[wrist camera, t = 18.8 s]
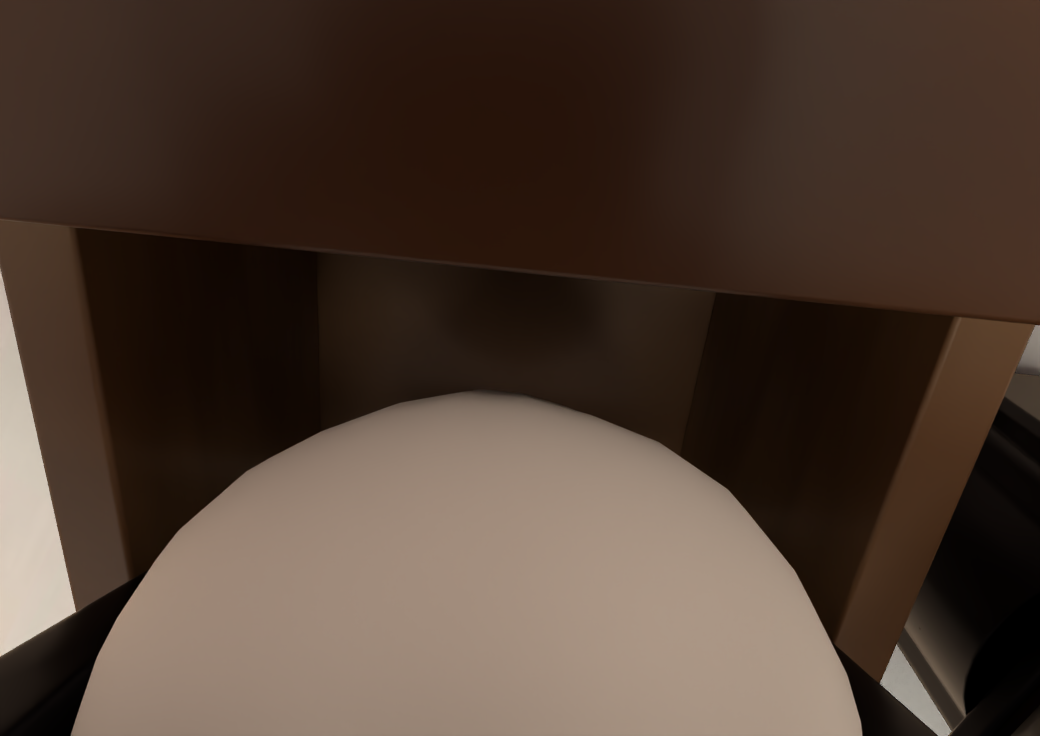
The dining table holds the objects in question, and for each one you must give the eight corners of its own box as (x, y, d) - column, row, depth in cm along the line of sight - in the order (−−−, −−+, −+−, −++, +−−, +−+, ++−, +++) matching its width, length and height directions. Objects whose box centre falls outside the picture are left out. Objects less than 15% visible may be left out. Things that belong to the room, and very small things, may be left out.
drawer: (667, 682, 20) (754, 1086, 12) (287, 648, 20) (120, 1037, 12) (844, -6, 13) (1362, -135, 5) (247, -72, 13) (-261, -325, 5)
